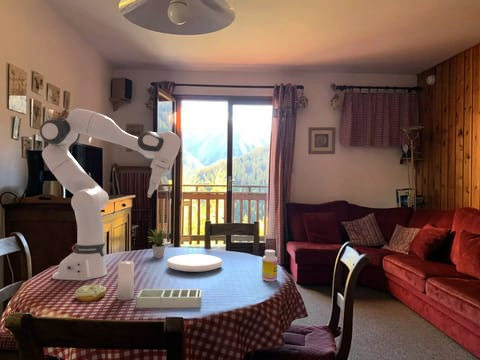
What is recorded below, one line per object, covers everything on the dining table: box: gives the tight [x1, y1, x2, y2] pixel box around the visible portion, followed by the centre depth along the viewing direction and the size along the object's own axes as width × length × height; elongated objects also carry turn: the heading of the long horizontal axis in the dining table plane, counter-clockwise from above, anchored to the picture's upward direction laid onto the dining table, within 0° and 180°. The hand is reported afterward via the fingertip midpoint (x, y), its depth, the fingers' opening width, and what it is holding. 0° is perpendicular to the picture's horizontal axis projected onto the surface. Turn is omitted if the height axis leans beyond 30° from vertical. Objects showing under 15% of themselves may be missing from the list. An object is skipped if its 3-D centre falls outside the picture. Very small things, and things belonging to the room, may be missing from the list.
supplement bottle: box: [261, 249, 278, 282], centre depth 163 cm, size 7×7×13 cm
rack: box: [135, 288, 203, 309], centre depth 131 cm, size 22×9×4 cm, turn 94°
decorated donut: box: [74, 284, 107, 302], centre depth 136 cm, size 10×11×4 cm
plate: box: [166, 253, 223, 273], centre depth 181 cm, size 28×6×27 cm
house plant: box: [147, 227, 171, 259], centre depth 205 cm, size 14×14×16 cm
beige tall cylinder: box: [117, 260, 135, 301], centre depth 136 cm, size 6×6×13 cm
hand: (149, 195), depth 159 cm, fingers open, 8 cm apart
